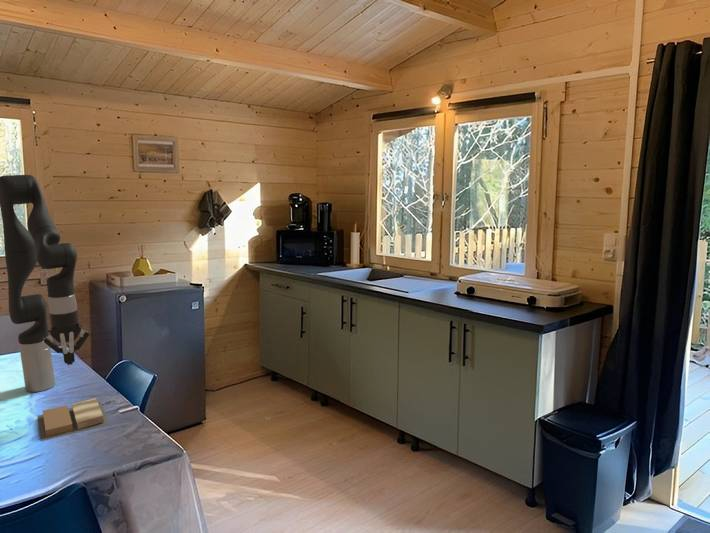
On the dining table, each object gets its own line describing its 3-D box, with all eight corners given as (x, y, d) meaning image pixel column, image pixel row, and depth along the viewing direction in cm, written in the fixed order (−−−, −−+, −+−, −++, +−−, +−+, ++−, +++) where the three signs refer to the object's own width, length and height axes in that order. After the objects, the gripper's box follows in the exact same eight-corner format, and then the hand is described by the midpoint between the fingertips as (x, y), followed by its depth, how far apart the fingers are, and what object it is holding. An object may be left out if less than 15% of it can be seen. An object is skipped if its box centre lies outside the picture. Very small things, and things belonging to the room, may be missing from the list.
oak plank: (72, 409, 175) (71, 404, 174) (96, 403, 178) (95, 397, 178) (78, 429, 161) (76, 422, 161) (104, 421, 165) (103, 415, 165)
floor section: (37, 417, 172) (36, 409, 171) (101, 403, 181) (100, 395, 180) (41, 443, 155) (39, 434, 154) (110, 426, 164) (109, 417, 164)
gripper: (85, 303, 174) (91, 356, 178) (37, 310, 167) (44, 364, 171) (89, 309, 168) (94, 363, 172) (39, 316, 161) (46, 372, 165)
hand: (69, 363), depth 171 cm, fingers closed
